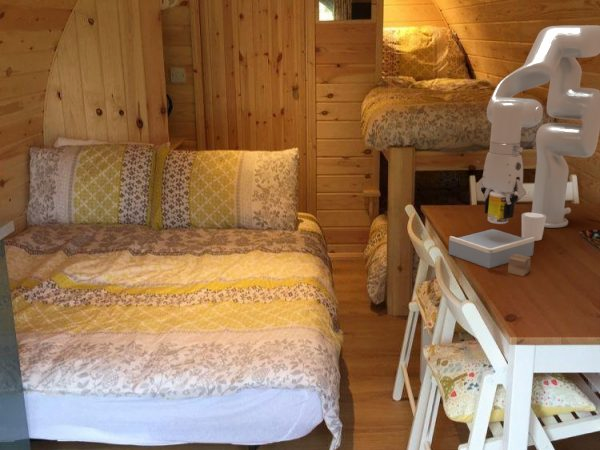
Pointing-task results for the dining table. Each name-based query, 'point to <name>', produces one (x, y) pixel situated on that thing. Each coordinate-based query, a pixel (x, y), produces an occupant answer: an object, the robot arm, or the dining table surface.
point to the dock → (490, 247)
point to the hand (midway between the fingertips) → (498, 214)
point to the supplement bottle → (497, 207)
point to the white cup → (533, 225)
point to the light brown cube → (519, 265)
